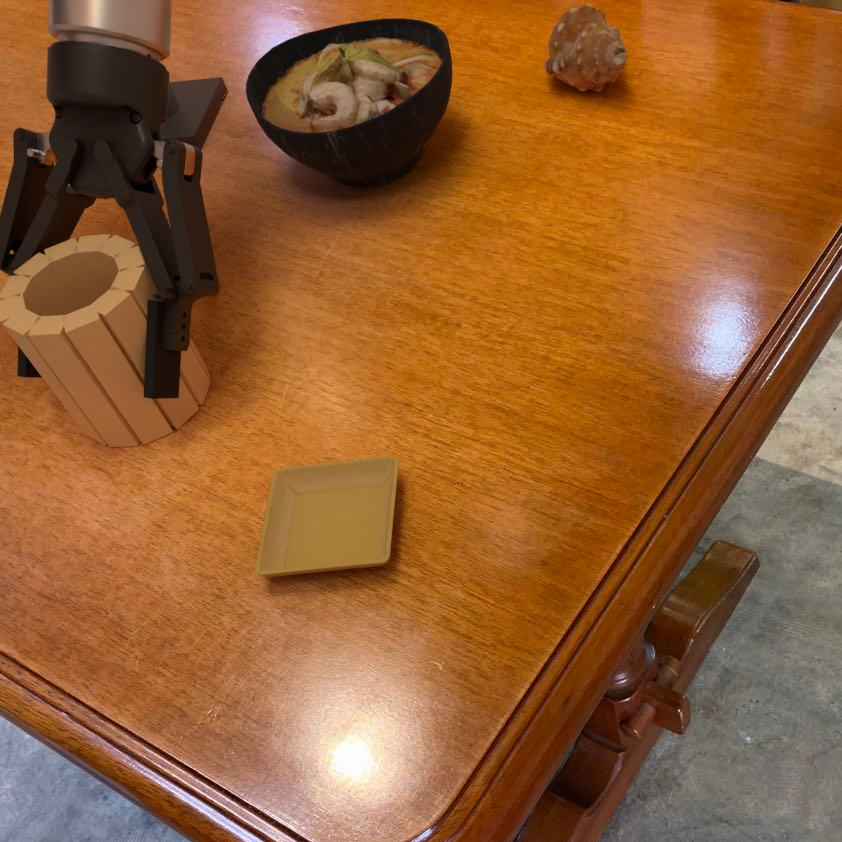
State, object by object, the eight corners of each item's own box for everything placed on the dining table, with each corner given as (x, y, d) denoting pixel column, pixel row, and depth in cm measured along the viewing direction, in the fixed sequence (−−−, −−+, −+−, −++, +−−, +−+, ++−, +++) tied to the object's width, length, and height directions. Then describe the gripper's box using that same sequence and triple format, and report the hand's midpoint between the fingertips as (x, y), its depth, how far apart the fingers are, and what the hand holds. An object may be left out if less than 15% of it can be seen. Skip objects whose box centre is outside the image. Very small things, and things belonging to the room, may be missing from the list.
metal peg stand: (103, 158, 99) (39, 42, 89) (136, 99, 104) (78, -16, 95) (200, 150, 97) (145, 30, 88) (228, 90, 103) (178, -28, 93)
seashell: (650, 92, 97) (667, 23, 87) (586, 144, 96) (596, 80, 86) (584, 23, 98) (594, -52, 88) (520, 74, 97) (523, 3, 87)
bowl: (318, 107, 98) (281, 2, 90) (490, 103, 94) (468, -7, 86) (255, 221, 89) (208, 115, 81) (443, 222, 85) (413, 111, 77)
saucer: (264, 593, 65) (252, 574, 63) (283, 486, 70) (273, 466, 68) (397, 581, 64) (388, 562, 62) (407, 474, 69) (399, 453, 67)
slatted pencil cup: (61, 449, 75) (-27, 338, 67) (106, 352, 81) (30, 239, 72) (187, 444, 74) (114, 330, 65) (224, 346, 80) (161, 229, 71)
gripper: (289, 75, 68) (266, 408, 73) (21, 62, 75) (14, 366, 80) (219, 41, 61) (198, 411, 66) (-70, 30, 68) (-72, 365, 73)
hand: (97, 387), depth 73 cm, fingers closed on slatted pencil cup, 10 cm apart
